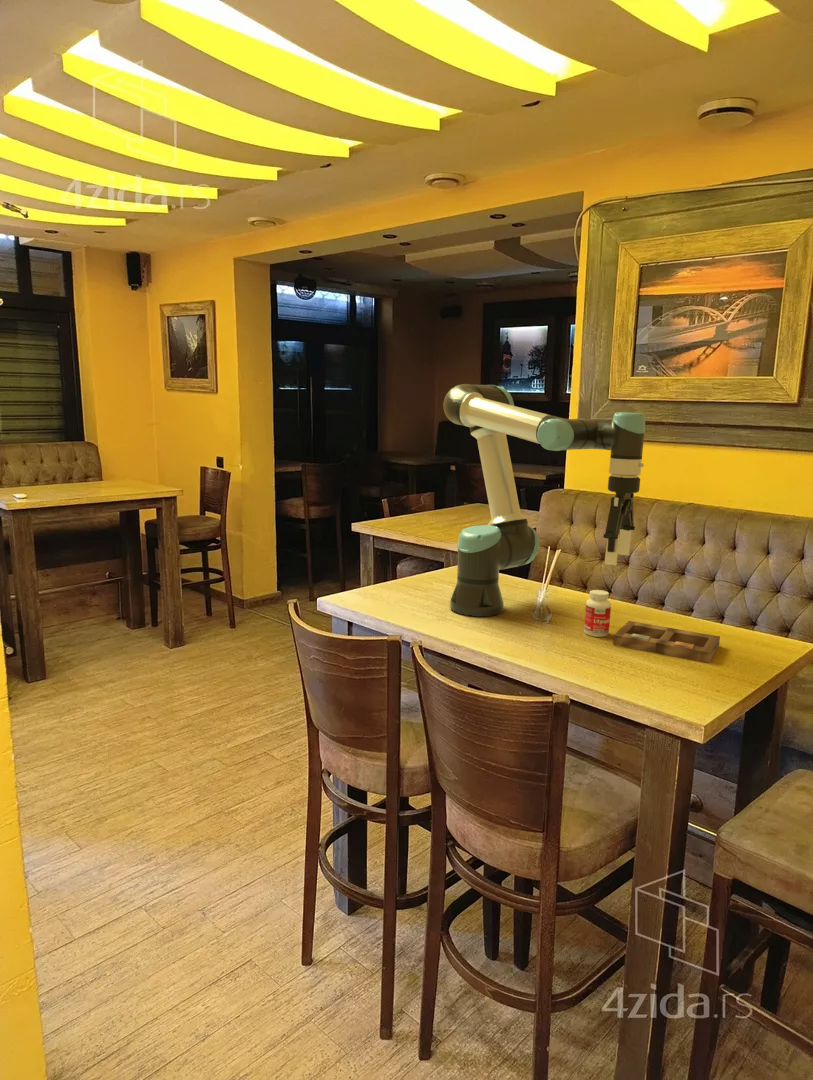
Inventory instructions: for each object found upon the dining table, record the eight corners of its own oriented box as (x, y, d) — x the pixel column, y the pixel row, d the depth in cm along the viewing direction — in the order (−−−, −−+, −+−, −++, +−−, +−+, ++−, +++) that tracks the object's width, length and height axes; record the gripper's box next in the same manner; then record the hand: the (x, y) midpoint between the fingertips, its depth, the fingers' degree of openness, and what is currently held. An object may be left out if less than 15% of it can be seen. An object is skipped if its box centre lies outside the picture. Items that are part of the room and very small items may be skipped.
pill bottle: (592, 638, 176) (595, 595, 174) (579, 631, 181) (582, 589, 179) (613, 636, 177) (616, 594, 175) (600, 629, 183) (603, 588, 181)
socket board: (613, 644, 171) (613, 633, 171) (628, 629, 183) (629, 619, 182) (709, 663, 160) (710, 651, 159) (719, 646, 172) (720, 634, 171)
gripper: (628, 481, 161) (620, 571, 165) (650, 472, 182) (642, 552, 186) (596, 478, 164) (589, 566, 169) (621, 470, 186) (614, 549, 190)
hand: (617, 559), depth 177 cm, fingers open, 13 cm apart
